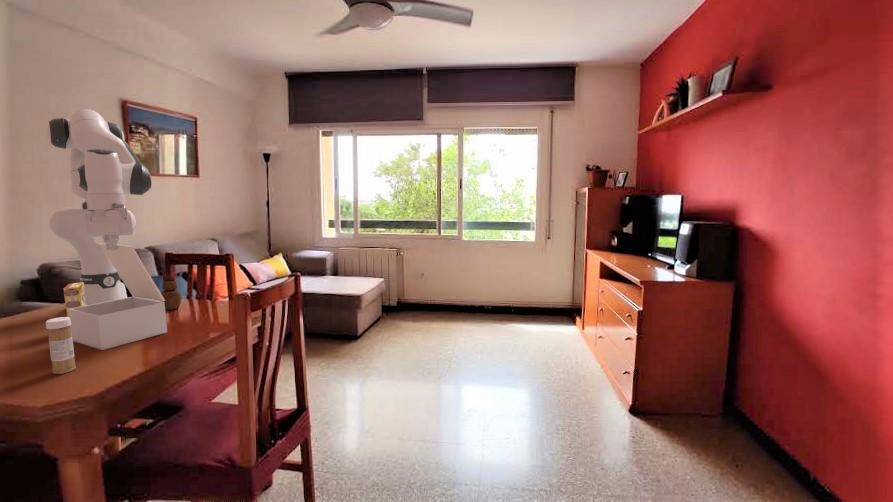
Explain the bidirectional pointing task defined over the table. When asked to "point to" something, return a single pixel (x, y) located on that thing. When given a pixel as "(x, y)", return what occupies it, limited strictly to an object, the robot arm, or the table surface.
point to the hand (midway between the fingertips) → (111, 249)
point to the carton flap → (133, 272)
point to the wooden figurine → (170, 293)
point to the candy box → (74, 296)
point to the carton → (117, 322)
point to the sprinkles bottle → (61, 345)
